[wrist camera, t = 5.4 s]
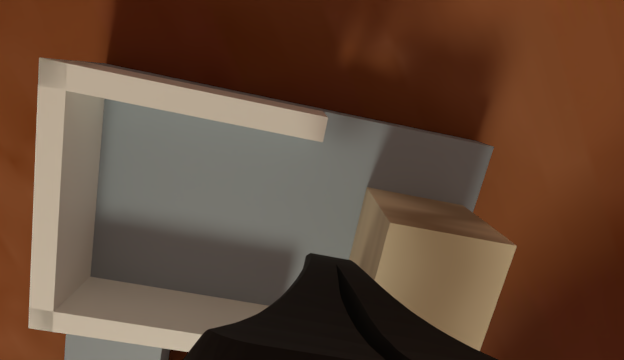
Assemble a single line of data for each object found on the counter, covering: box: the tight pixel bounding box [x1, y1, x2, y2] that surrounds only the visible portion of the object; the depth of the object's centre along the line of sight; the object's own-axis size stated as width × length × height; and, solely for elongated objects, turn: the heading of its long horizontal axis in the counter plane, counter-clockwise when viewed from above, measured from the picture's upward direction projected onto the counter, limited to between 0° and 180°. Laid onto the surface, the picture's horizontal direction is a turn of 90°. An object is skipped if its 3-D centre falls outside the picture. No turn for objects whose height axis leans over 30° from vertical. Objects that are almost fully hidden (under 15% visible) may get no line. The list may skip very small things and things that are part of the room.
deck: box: [64, 62, 494, 360], centre depth 17 cm, size 16×17×2 cm
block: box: [349, 187, 517, 351], centre depth 14 cm, size 4×4×4 cm
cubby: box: [28, 58, 328, 352], centre depth 14 cm, size 9×9×2 cm
